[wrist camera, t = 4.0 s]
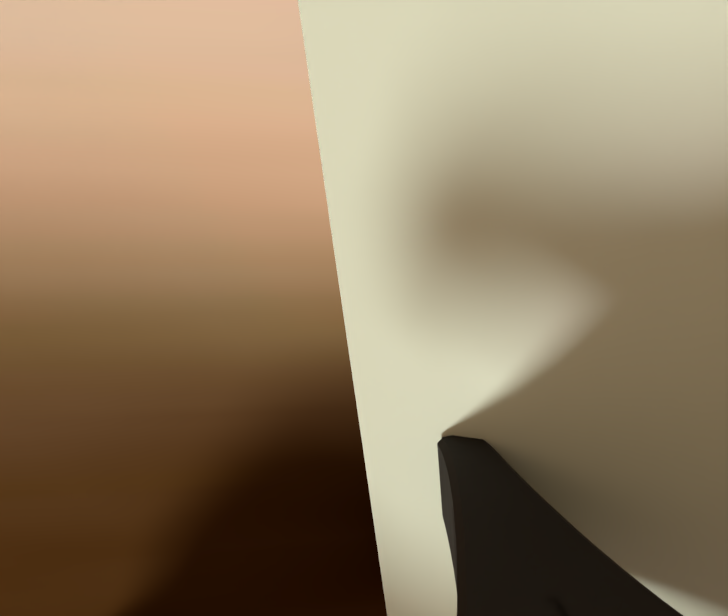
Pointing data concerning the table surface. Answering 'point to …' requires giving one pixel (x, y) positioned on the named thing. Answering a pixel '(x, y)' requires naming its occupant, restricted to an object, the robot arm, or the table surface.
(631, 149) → the duct lid
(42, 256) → the table surface
